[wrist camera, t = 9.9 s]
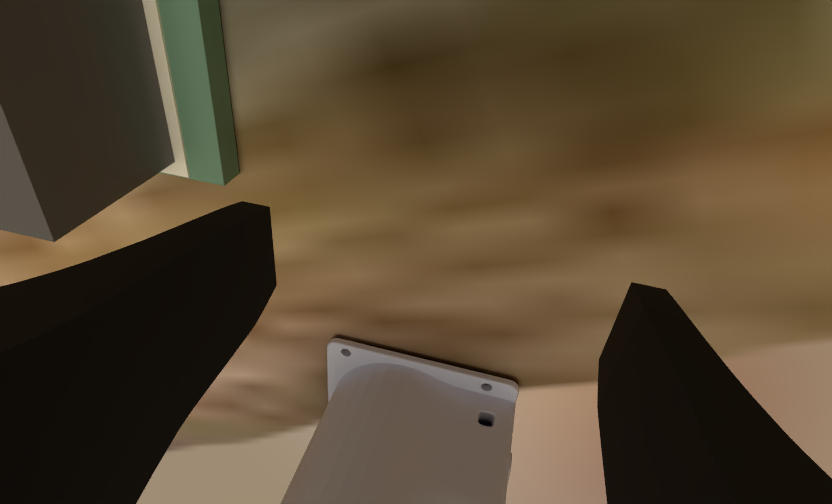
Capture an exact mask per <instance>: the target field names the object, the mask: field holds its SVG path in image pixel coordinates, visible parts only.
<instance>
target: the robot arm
mask: <svg viewBox="0 0 832 504" xmlns="http://www.w3.org/2000/svg"><path fill="white" fill-rule="evenodd" d="M276 285H277V284H276V272H275V261H274V250H273V239H272V228H271V216H270V207H267V206H262V205H258V204H253V203H248V202H243V201H242V202H239V203H236V204H232V205H229V206H227V207H224V208H221V209H219V210H216V211H214V212H211V213H209V214H206V215H204V216H201V217H199V218H196V219H194V220H192V221H189V222H187V223H184V224H182V225H180V226H177V227H175V228H172V229H170V230H167V231H165V232H162V233H160V234H158V235H155V236H153V237H150V238H148V239H145V240H143V241H140V242H137V243H135V244H132V245H129V246H127V247H124V248H121V249H119V250H116V251H113V252H111V253H108V254H105V255H102V256H100V257H97V258H94V259H92V260H89V261H86V262H83V263H80V264H77V265H74V266H71V267H68V268H65V269H62V270H58V271H55V272H52V273H48V274H45V275H41V276H38V277H34V278H31V279H28V280H24V281H21V282H17V283H13V284H9V285H5V286H1V287H0V504H136V503H137V501H138V499H139V497H140V496H141V494H142V492H143V490H144V489H145V487H146V485H147V483H148V481H149V479H150V478H151V476H152V474H153V472H154V471H155V469H156V467H157V466H158V464H159V462H160V461H161V459H162V457H163V456H164V454H165V452H166V451H167V449H168V447H169V446H170V444H171V442H172V440H173V439H174V437H175V435H176V434H177V432H178V430H179V429H180V427H181V426H182V424H183V423H184V421H185V420H186V418H187V417H188V415H189V414H190V413H191V411H192V410H193V408H194V407H195V405H196V404H197V403H198V401H199V400H200V399H201V397H202V396H203V395H204V393H205V392H206V391H207V389H208V388H209V387H210V385H211V384H212V383H213V381H214V380H215V379H216V377H217V376H218V375H219V373H220V372H221V371H222V369H223V368H224V367H225V365H226V364H227V363H228V361H229V360H230V359H231V357H232V356H233V354H234V353H235V352H236V350H237V349H238V348H239V346H240V345H241V344H242V342H243V341H244V339H245V338H246V337H247V335H248V334H249V333H250V331H251V330H252V328H253V327H254V326H255V324H256V322H257V321H258V319H259V317H260V315H261V314H262V312H263V310H264V308H265V306H266V305H267V303H268V301H269V299H270V297H271V295H272V293H273V291H274V289H275V287H276ZM346 349H347V350H346ZM348 350H349V351H348ZM327 372H328V405H327V407H326V409H325V411H324V414H323V416H322V418H321V420H320V422H319V424H318V426H317V428H316V430H315V433H314V435H313V437H312V439H311V441H310V443H309V445H308V447H307V449H306V451H305V454H304V456H303V458H302V460H301V462H300V464H299V466H298V468H297V470H296V472H295V474H294V477H293V479H292V481H291V483H290V485H289V487H288V489H287V491H286V493H285V495H284V498H283V500H282V502H281V504H505V500H506V491H507V484H508V480H509V474H510V469H511V461H512V454H511V442H512V432H513V422H514V413H515V403H516V400H517V397H518V392H519V386H518V384H517V383H516V382H514V381H512V380H509V379H505V378H501V377H497V376H492V375H488V374H484V373H480V372H476V371H472V370H468V369H464V368H459V367H455V366H451V365H447V364H443V363H439V362H435V361H431V360H426V359H422V358H418V357H414V356H410V355H406V354H402V353H398V352H393V351H389V350H385V349H381V348H377V347H373V346H369V345H365V344H361V343H356V342H352V341H348V340H344V339H340V338H333V339H331V340H330V341H329V343H328V346H327ZM484 383H486V384H489V385H486V384H484ZM598 418H599V429H600V439H601V448H602V458H603V467H604V477H605V486H606V495H607V504H832V478H830V477H829V476H828V475H827V474H826V473H825V472H824V471H823V470H822V469H821V468H820V467H819V466H818V465H817V464H816V463H815V462H814V461H813V460H812V459H811V458H810V457H809V456H808V455H807V454H806V453H804V451H803V450H802V449H801V448H800V447H799V446H798V445H797V444H796V443H795V442H794V441H793V440H792V439H791V438H790V437H789V436H788V435H787V434H786V433H785V432H784V431H783V430H782V429H781V427H780V426H779V425H778V424H777V423H776V422H775V421H774V420H773V419H772V418H771V416H770V415H769V414H768V413H767V412H766V411H765V410H764V409H763V408H762V407H761V405H760V404H759V403H758V402H757V401H756V400H755V399H754V398H753V397H752V395H751V394H750V393H749V392H748V391H747V390H746V388H745V387H744V386H743V385H742V384H741V383H740V381H739V380H738V379H737V378H736V377H735V376H734V374H733V373H732V372H731V371H730V369H728V367H727V366H726V365H725V363H724V362H723V361H722V360H721V358H720V357H719V356H718V355H717V353H716V352H715V351H714V350H713V348H712V347H711V346H710V345H709V343H708V342H707V341H706V340H705V338H704V337H703V336H702V334H701V333H700V332H699V331H698V329H697V328H696V327H695V325H694V324H693V323H692V322H691V320H690V319H689V318H688V316H687V315H686V314H685V312H684V311H683V310H682V309H681V307H680V306H679V305H678V304H677V302H676V301H675V300H674V299H673V297H672V296H671V295H670V294H669V293H668V291H667V290H666V289H661V288H656V287H651V286H647V285H642V284H637V283H632V282H631V285H630V287H629V290H628V292H627V294H626V297H625V299H624V301H623V304H622V306H621V309H620V311H619V313H618V316H617V318H616V320H615V323H614V325H613V328H612V330H611V332H610V335H609V337H608V339H607V342H606V344H605V347H604V349H603V351H602V354H601V356H600V358H599V372H598Z"/></svg>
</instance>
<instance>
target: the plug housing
mask: <svg viewBox="0 0 832 504" xmlns="http://www.w3.org/2000/svg"><path fill="white" fill-rule="evenodd" d="M174 162H175V159H174V154H173V149H172V144H171V139H170V135H169V130H168V125H167V120H166V115H165V110H164V105H163V100H162V95H161V90H160V86H159V81H158V76H157V71H156V66H155V61H154V56H153V51H152V46H151V41H150V36H149V32H148V27H147V22H146V17H145V12H144V7H143V2H142V0H0V230H4V231H9V232H13V233H17V234H22V235H26V236H30V237H35V238H39V239H43V240H48V241H52V242H55V241H57V240H58V239H60V238H61V237H63V236H64V235H66V234H67V233H69V232H70V231H72V230H73V229H75V228H76V227H78V226H79V225H81V224H82V223H84V222H85V221H87V220H88V219H90V218H91V217H93V216H94V215H96V214H97V213H99V212H100V211H102V210H103V209H105V208H106V207H108V206H109V205H111V204H112V203H114V202H115V201H117V200H118V199H120V198H121V197H123V196H124V195H126V194H127V193H129V192H130V191H132V190H133V189H135V188H136V187H138V186H140V185H141V184H143V183H144V182H146V181H147V180H149V179H150V178H152V177H153V176H155V175H156V174H158V173H159V172H161V171H162V170H164V169H165V168H167V167H168V166H170V165H171V164H173V163H174Z"/></svg>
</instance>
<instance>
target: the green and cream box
mask: <svg viewBox="0 0 832 504" xmlns="http://www.w3.org/2000/svg"><path fill="white" fill-rule="evenodd" d="M142 2H143V7H144V12H145V17H146V22H147V27H148V32H149V36H150V41H151V46H152V51H153V56H154V61H155V66H156V71H157V76H158V81H159V86H160V90H161V95H162V100H163V105H164V110H165V115H166V120H167V125H168V130H169V135H170V139H171V144H172V149H173V154H174V159H175V162H174V163H173V164H171V165H170V166H168V167H167V168H165V169H164V170H162V171H161V172H159V173H164V174H169V175H174V176H179V177H183V178H188V179H193V180H198V181H203V182H208V183H213V184H218V185H222V186H225V185H226V184H227V183H228V182H229V181H231V180H232V179H233V178H234V177H236V176H237V175H238V174H239V165H238V157H237V149H236V141H235V132H234V124H233V116H232V108H231V100H230V92H229V84H228V76H227V67H226V59H225V51H224V43H223V35H222V27H221V19H220V10H219V2H218V0H142Z"/></svg>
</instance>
